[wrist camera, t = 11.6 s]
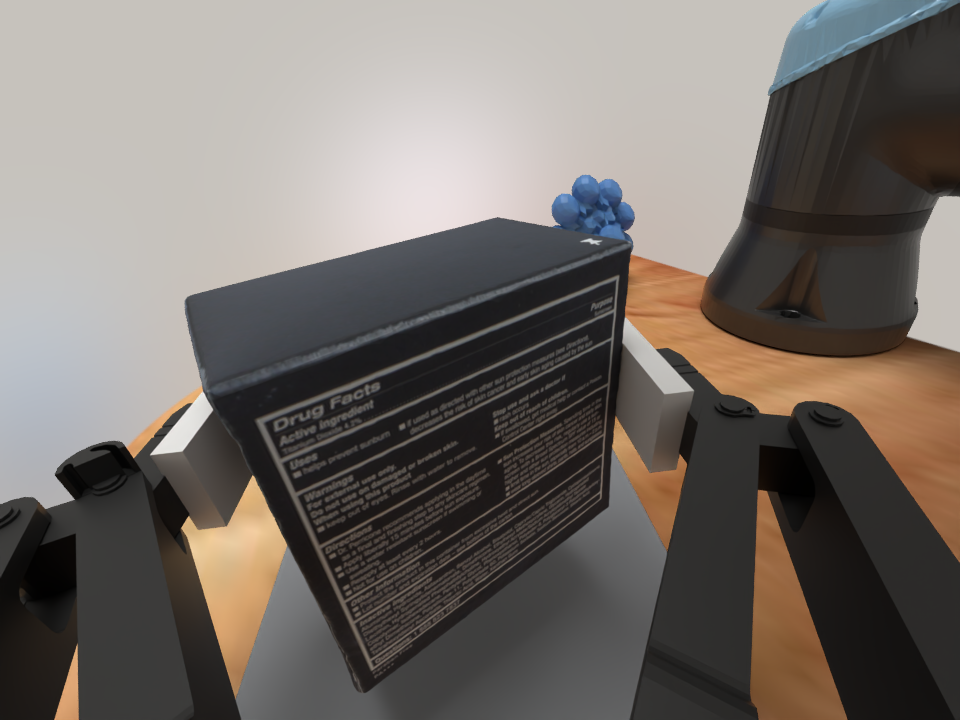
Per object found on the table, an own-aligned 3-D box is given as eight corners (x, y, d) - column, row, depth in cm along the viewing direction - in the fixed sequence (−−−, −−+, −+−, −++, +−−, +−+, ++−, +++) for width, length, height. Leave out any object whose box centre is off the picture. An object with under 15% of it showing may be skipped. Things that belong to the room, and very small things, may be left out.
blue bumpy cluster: (574, 317, 41) (579, 186, 35) (533, 296, 46) (531, 179, 40) (656, 287, 46) (674, 167, 39) (611, 271, 51) (620, 163, 45)
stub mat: (611, 452, 25) (612, 447, 25) (772, 763, 13) (776, 759, 13) (309, 491, 24) (307, 486, 24) (189, 857, 12) (183, 854, 12)
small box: (510, 425, 21) (499, 208, 16) (615, 508, 16) (651, 238, 11) (296, 542, 16) (174, 284, 11) (359, 707, 11) (197, 396, 6)
